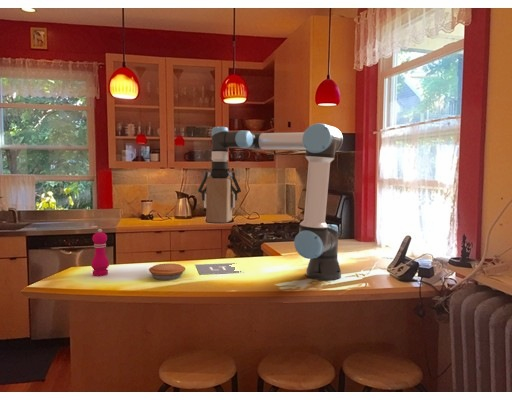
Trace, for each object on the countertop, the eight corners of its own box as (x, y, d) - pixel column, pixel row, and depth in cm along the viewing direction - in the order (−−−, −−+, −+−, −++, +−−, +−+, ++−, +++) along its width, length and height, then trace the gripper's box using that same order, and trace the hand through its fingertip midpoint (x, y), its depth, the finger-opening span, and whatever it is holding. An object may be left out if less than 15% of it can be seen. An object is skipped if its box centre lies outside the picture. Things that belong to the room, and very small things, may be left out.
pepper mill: (92, 277, 179) (91, 230, 178) (90, 273, 185) (89, 228, 184) (110, 275, 182) (110, 229, 181) (107, 272, 189) (107, 227, 187)
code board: (244, 272, 191) (244, 272, 191) (199, 274, 186) (199, 274, 186) (235, 263, 210) (235, 263, 210) (195, 264, 205) (195, 264, 205)
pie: (146, 274, 186) (146, 263, 186) (181, 271, 192) (181, 260, 191) (151, 283, 172) (151, 270, 171) (189, 279, 177) (189, 268, 177)
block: (226, 223, 191) (227, 178, 189) (205, 222, 193) (205, 178, 191) (232, 220, 200) (232, 178, 199) (212, 220, 202) (212, 178, 201)
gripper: (244, 161, 201) (243, 206, 203) (192, 160, 196) (191, 207, 197) (247, 161, 194) (247, 208, 195) (193, 160, 188) (193, 208, 190)
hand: (219, 207), depth 196 cm, fingers closed on block, 12 cm apart
